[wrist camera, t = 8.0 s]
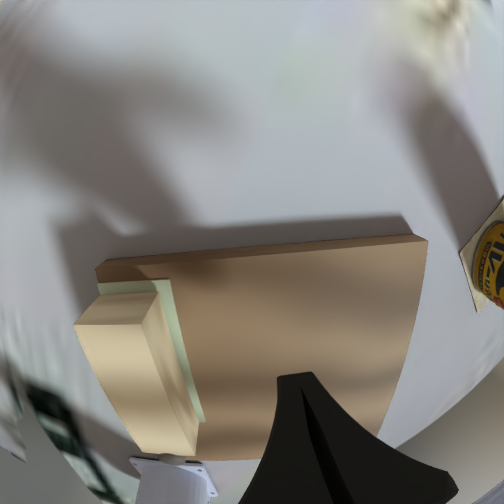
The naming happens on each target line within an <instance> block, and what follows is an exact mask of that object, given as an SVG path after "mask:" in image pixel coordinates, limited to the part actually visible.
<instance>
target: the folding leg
mask: <svg viewBox="0 0 504 504" xmlns="http://www.w3.org/2000/svg"><path fill="white" fill-rule="evenodd" d="M73 326H74V329H75V331H76V334H77V336H78V338H79V341H80V343H81V345H82V348H83V350H84V352H85V354H86V356H87V359H88V361H89V363H90V365H91V367H92V369H93V371H94V373H95V375H96V377H97V379H98V381H99V383H100V385H101V386H102V388H103V390H104V392H105V394H106V396H107V397H108V399H109V401H110V403H111V404H112V406H113V408H114V409H115V411H116V413H117V414H118V416H119V418H120V419H121V421H122V422H123V424H124V426H125V427H126V429H127V430H128V432H129V433H130V435H131V436H132V438H133V439H134V441H135V442H136V443H137V445H138V446H139V448H140V449H141V451H142V452H145V453H154V454H158V459H159V460H160V461H162V462H163V463H166V464H169V465H173V466H180V465H184V464H185V461H186V456H195V454H196V444H197V435H198V425H199V420H198V417H197V415H196V412H195V409H194V407H193V404H192V401H191V398H190V395H189V393H188V390H187V387H186V384H185V381H184V378H183V375H182V372H181V368H180V365H179V362H178V359H177V356H176V352H175V349H174V346H173V342H172V339H171V335H170V332H169V328H168V324H167V321H166V317H165V313H164V309H163V305H162V301H161V297H160V293H159V292H146V293H131V294H116V295H99V296H98V297H97V298H96V299H95V301H94V302H93V303H92V304H91V305H90V306H89V307H88V308H87V309H86V310H85V312H84V313H83V314H82V315H81V316H80V317H79V318H78V320H77V321H76V322H75V323H74V324H73Z"/></svg>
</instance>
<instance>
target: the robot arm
mask: <svg viewBox="0 0 504 504" xmlns="http://www.w3.org/2000/svg"><path fill="white" fill-rule="evenodd" d="M129 461H130V463H131V464H132V465H133V466H134V467H135V469H136V470H137V471H138V472H139V473H140V474H141V478H140V483H139V487H138V492H137V497H136V502H135V504H210V497H217V496H218V492H217V490H216V488H215V487H214V485H213V483H212V481H211V479H210V477H209V475H208V473H207V471H206V469H205V467H204V465H202V464H199V463H185V464H184V465H180V466H173V465H169V464H166V463H163V462H162V461H156V460H148V459H140V458H134V457H131V458H130V459H129ZM458 490H459V489H458V487H457V485H456V484H455V482H454V480H453V478H452V477H451V476H450V475H449V473H448V472H447V471H444V470H441V469H438V468H434V467H432V466H429V465H426V464H424V463H421V462H419V461H417V460H415V459H412V458H410V457H408V456H406V455H405V454H403V453H401V452H399V451H397V450H395V449H394V448H392V447H390V446H389V445H387V444H385V443H384V442H382V441H381V440H380V439H378V438H377V437H375V436H374V435H373V434H371V433H370V432H369V431H367V430H366V429H365V428H364V427H362V426H361V425H360V424H359V423H358V422H357V421H356V420H354V419H353V418H352V417H351V416H350V415H349V414H348V413H347V412H346V411H345V410H344V409H343V408H342V407H341V406H340V405H339V404H338V403H337V401H336V400H335V399H334V398H333V397H332V396H331V395H330V394H329V392H328V391H327V390H326V389H325V388H324V386H323V385H322V384H321V382H320V381H319V380H318V378H317V377H316V376H315V374H314V373H313V372H312V371H309V372H302V373H295V374H288V375H280V376H278V377H277V405H276V411H275V417H274V421H273V425H272V429H271V433H270V436H269V440H268V443H267V446H266V448H265V451H264V454H263V456H262V459H261V461H260V464H259V466H258V468H257V470H256V472H255V475H254V477H253V479H252V481H251V483H250V484H249V486H248V488H247V490H246V491H245V493H244V495H243V496H242V498H241V500H240V501H239V503H238V504H446V503H447V502H448V501H449V500H450V499H452V498H453V497H454V496H455V495H456V494H457V493H458ZM472 504H504V480H503V481H502V482H500V483H499V484H498V485H497V486H495V487H494V488H493V489H491V490H490V491H489V492H488V493H486V494H485V495H484V496H482V497H481V498H480V499H478V500H477V501H475V502H474V503H472Z"/></svg>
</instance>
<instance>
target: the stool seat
mask: <svg viewBox="0 0 504 504" xmlns="http://www.w3.org/2000/svg"><path fill="white" fill-rule="evenodd" d="M427 248H428V240H426V239H424V238H422V237H420V236H417V235H415V234H407V235H394V236H381V237H368V238H355V239H342V240H330V241H317V242H305V243H292V244H280V245H268V246H256V247H244V248H232V249H220V250H208V251H197V252H185V253H174V254H162V255H151V256H140V257H129V258H117V259H107V260H105V261H104V262H103V263H102V264H101V265H99V266H98V267H97V268H96V269H95V270H96V274H97V277H98V281H99V283H97V287H98V290H99V294H100V295H116V294H131V293H146V292H159V293H160V297H161V301H162V305H163V309H164V313H165V317H166V321H167V324H168V328H169V332H170V335H171V339H172V342H173V346H174V349H175V352H176V356H177V359H178V362H179V365H180V368H181V372H182V375H183V378H184V381H185V384H186V387H187V390H188V393H189V395H190V398H191V401H192V404H193V407H194V409H195V412H196V415H197V417H198V420H199V425H198V435H197V444H196V454H195V456H186V460H203V461H225V460H250V459H262V456H263V454H264V451H265V448H266V446H267V443H268V440H269V436H270V433H271V429H272V425H273V421H274V417H275V411H276V405H277V377H278V376H280V375H288V374H295V373H302V372H309V371H312V372H313V373H314V374H315V376H316V377H317V378H318V380H319V381H320V382H321V384H322V385H323V386H324V388H325V389H326V390H327V391H328V392H329V394H330V395H331V396H332V397H333V398H334V399H335V400H336V401H337V403H338V404H339V405H340V406H341V407H342V408H343V409H344V410H345V411H346V412H347V413H348V414H349V415H350V416H351V417H352V418H353V419H354V420H356V421H357V422H358V423H359V424H360V425H361V426H362V427H364V428H365V429H366V430H367V431H369V432H370V433H371V434H373V435H374V436H375V437H377V434H378V432H379V430H380V428H381V425H382V423H383V421H384V418H385V416H386V413H387V411H388V408H389V405H390V403H391V400H392V398H393V395H394V392H395V389H396V386H397V383H398V380H399V377H400V374H401V371H402V368H403V365H404V361H405V358H406V355H407V351H408V347H409V344H410V340H411V336H412V332H413V328H414V324H415V319H416V315H417V310H418V305H419V300H420V295H421V290H422V284H423V278H424V271H425V264H426V256H427Z"/></svg>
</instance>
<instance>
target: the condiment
mask: <svg viewBox="0 0 504 504" xmlns="http://www.w3.org/2000/svg"><path fill="white" fill-rule="evenodd" d="M460 257H461V259H462V262H463V266H464V269H465V273H466V276H467V279H468V283H469V286H470V289H471V292H472V296H473V299H474V302H475V305H476V309H477V313H478V314H479V313H480V312H481V311H482V309H483V308H484V307H485V306H486V305H487V303H488V302H489V301H490V300H491V301H492V302H494V303H495V304H496V305H497V306H500V307H501V308H502V309H504V199H503V201H502V202H501V203H500V204H499V206H498V207H497V209H495V211H494V212H493V213H492V215H491V216H490V217H489V218H488V219H487V220H486V221H485V223H484V224H483V225H482V227H481V228H480V229H479V230H478V231H477V233H476V234H475V235H474V236H473V237H472V238H471V240H470V241H469V242H468V243H467V244H466V245H465V246H464V248H463V249H462V250H461V252H460Z"/></svg>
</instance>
